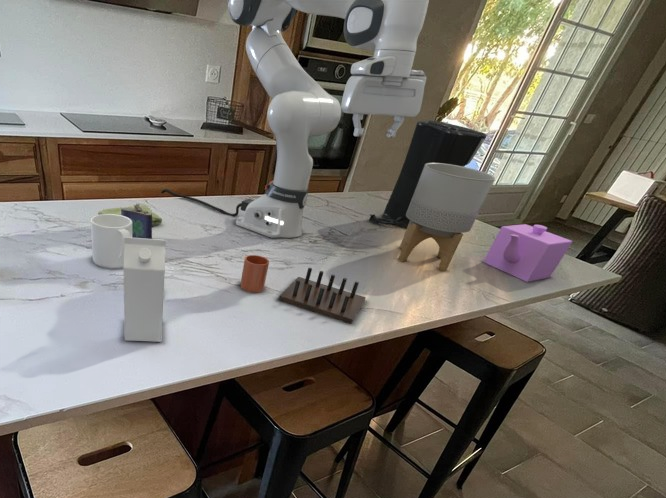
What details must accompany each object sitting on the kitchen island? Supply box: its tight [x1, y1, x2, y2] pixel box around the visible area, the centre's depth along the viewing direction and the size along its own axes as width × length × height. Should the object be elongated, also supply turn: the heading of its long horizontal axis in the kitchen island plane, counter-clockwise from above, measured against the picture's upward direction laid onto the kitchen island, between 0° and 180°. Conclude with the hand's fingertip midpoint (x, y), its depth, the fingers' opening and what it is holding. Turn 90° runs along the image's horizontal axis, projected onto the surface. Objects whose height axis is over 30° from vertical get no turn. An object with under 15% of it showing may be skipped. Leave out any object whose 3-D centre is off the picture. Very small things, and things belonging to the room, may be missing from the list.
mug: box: [89, 214, 132, 270], centre depth 108 cm, size 13×10×10 cm
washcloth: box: [97, 204, 163, 227], centre depth 135 cm, size 13×18×3 cm
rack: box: [278, 267, 366, 325], centre depth 105 cm, size 18×14×5 cm
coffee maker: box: [368, 119, 487, 229], centre depth 158 cm, size 23×32×34 cm
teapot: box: [482, 223, 573, 283], centre depth 135 cm, size 15×25×14 cm, turn 117°
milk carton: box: [122, 237, 167, 343], centre depth 81 cm, size 7×7×19 cm
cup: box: [239, 254, 270, 294], centre depth 106 cm, size 6×6×7 cm
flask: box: [121, 203, 153, 239], centre depth 120 cm, size 9×3×11 cm, turn 71°
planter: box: [397, 163, 496, 272], centre depth 130 cm, size 19×19×26 cm
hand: (374, 136), depth 107 cm, fingers open, 8 cm apart
